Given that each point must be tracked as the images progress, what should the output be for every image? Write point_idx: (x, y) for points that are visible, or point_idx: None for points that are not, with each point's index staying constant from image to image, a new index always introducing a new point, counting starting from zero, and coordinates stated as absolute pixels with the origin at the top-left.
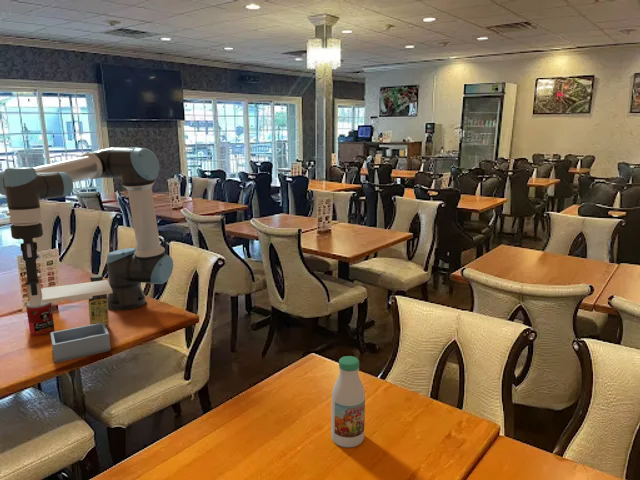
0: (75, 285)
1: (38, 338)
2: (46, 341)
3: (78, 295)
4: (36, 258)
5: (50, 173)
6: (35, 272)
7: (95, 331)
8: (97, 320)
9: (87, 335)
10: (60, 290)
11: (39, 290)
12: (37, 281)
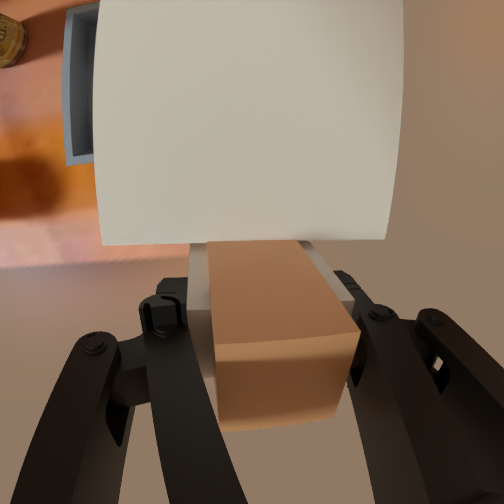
0: (141, 5)
1: (6, 197)
2: (29, 176)
3: (401, 35)
4: (494, 500)
5: None
6: (496, 374)
7: (79, 37)
8: (11, 40)
9: (81, 61)
10: (229, 111)
11: (329, 269)
12: (447, 318)
